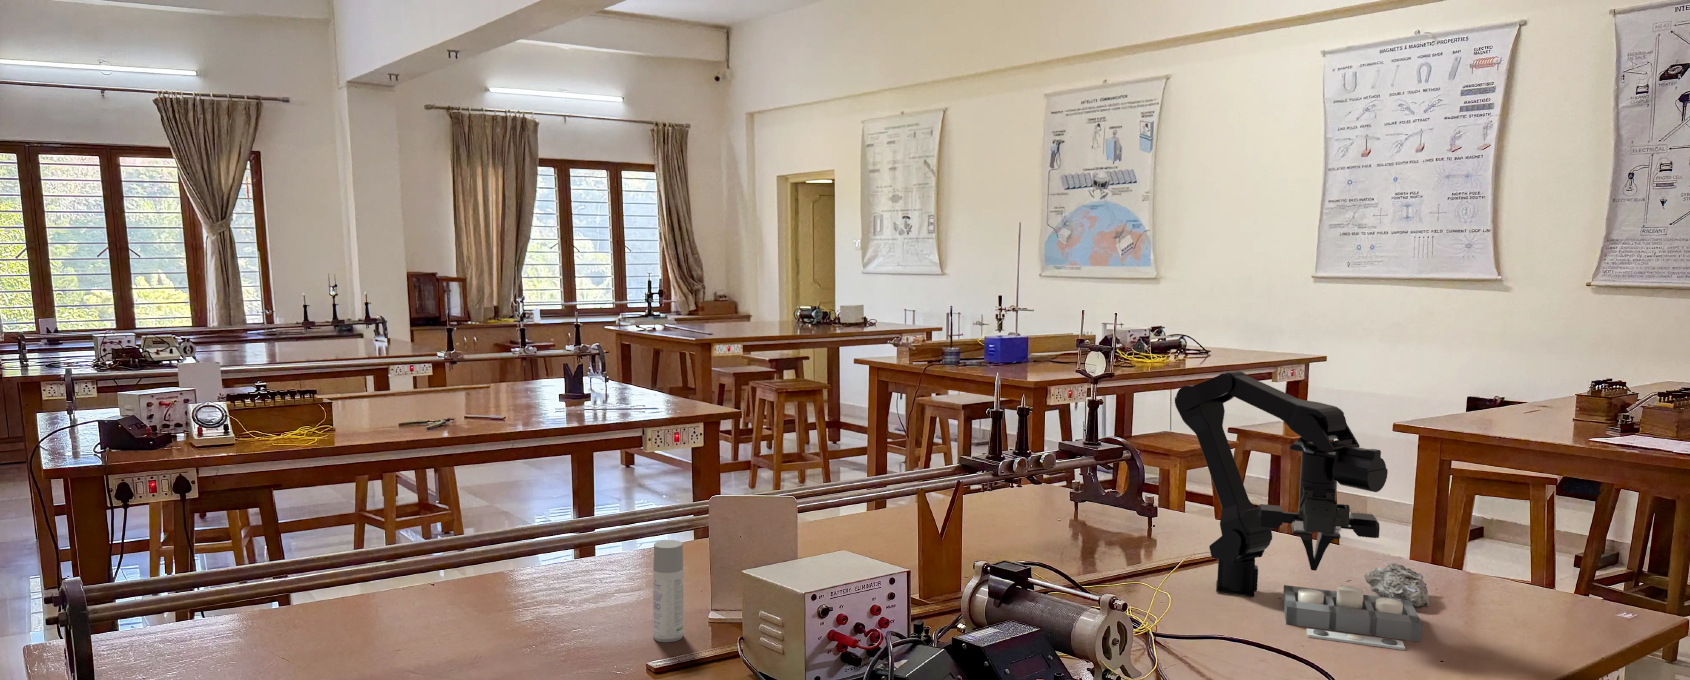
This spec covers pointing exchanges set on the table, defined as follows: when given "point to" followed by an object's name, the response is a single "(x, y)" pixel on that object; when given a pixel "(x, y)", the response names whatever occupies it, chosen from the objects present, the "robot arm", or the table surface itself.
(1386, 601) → the button right
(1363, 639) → the card
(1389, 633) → the button board
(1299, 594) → the button left
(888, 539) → the table surface
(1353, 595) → the button middle
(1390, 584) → the mineral specimen
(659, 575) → the container
